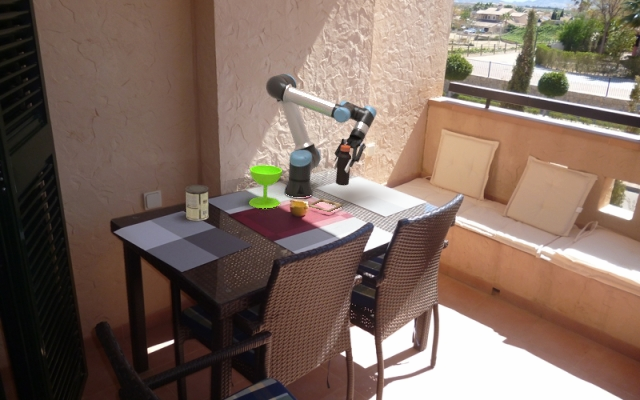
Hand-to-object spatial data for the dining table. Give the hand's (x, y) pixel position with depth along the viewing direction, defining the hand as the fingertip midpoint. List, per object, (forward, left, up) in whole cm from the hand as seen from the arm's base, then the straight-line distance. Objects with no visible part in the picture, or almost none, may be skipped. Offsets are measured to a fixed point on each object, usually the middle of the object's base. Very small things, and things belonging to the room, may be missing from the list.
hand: (340, 169), depth 259 cm
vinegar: (0, +4, -9) cm, 9 cm away
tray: (-2, -8, -20) cm, 22 cm away
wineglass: (-29, -23, -20) cm, 42 cm away
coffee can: (-40, -59, -20) cm, 74 cm away
